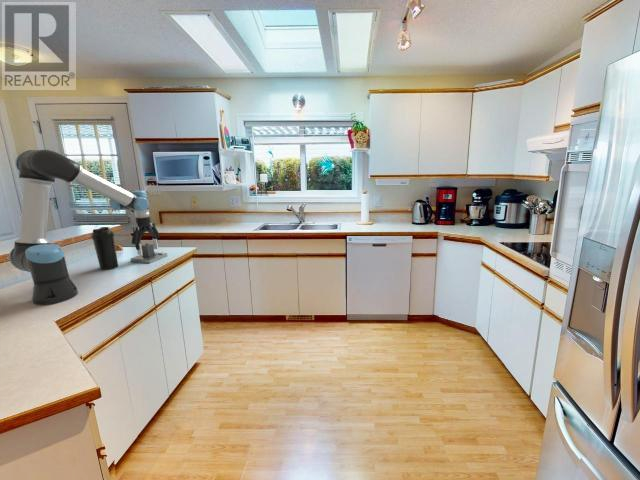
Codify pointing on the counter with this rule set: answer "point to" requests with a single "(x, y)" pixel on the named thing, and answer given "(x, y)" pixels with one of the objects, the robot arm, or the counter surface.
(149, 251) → the plug
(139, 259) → the socket
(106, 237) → the water bottle
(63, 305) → the counter surface
